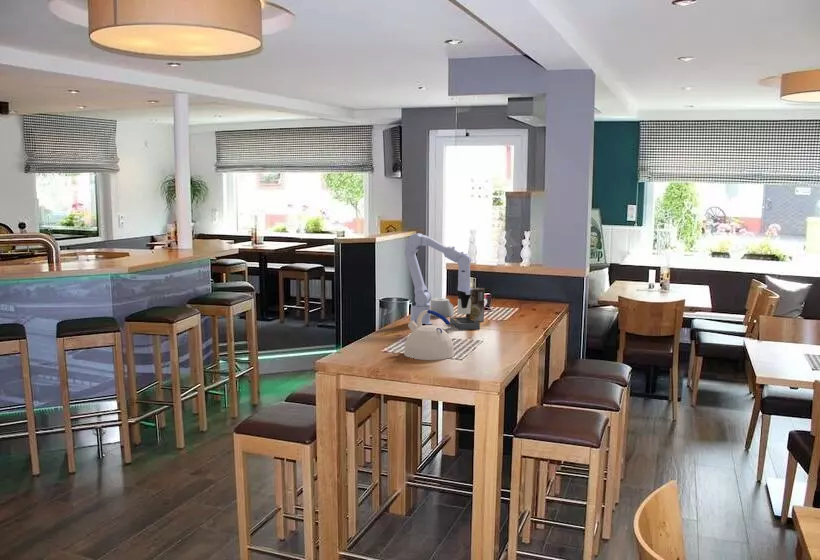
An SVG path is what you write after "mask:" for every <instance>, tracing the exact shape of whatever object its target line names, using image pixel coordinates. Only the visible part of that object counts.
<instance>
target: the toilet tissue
mask: <svg viewBox="0 0 820 560" xmlns="http://www.w3.org/2000/svg"><path fill="white" fill-rule="evenodd" d="M430 310H432V311H435V312H437V313H439V314H441V315H443V316H444V317H445V318H448V317H447V316H451V317H454V316H455V309H454V305H453V303H452V302H450V299H449V298H444V297H442V298H441V297H439V298H438V297H436V298H431V300H430ZM453 315H454V316H453ZM432 316H435V315H433V314H430V317H432ZM434 318H438V317H437V316H435V317H434Z"/></svg>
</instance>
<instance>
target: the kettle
mask: <svg viewBox="0 0 820 560" xmlns="http://www.w3.org/2000/svg"><path fill="white" fill-rule="evenodd" d="M426 313H430V315H431V314H433V315H435V316H437V317H436V318H439V319H440V320H442V321H443V323H444V324H445V325H451V323H450V320H449V319H448V318H447V317H444V316H443V315H441V314H439V313H437V312H435V311H432V310H431V309H430V310H425V311H423V312H421V313H420V314H419V316H418V318H417V324H416V323H415V322H414V321H411V320H410V321H411V322H408V324H407V327H408V328H409V329H410V330H411V332H410V334H409V335H408V336H407V338H406V340H405V342H404V351H403V355H404V356H405V357H407V358H409V357H410V358H409V359H413V358H414V359H415V360H419V361H421V360H422V361H440V360H447V359H450V358H452V357H454V355H455V353H454V352H455V351H454V342H453V340H452V338H451V336H450V335H449V333H447V332H446V331H445V330H444V329H443V328H442V327H439V326H436V325H433V324H425V325H422V317H423V315H424V314H426ZM414 359H413V360H414Z"/></svg>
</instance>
